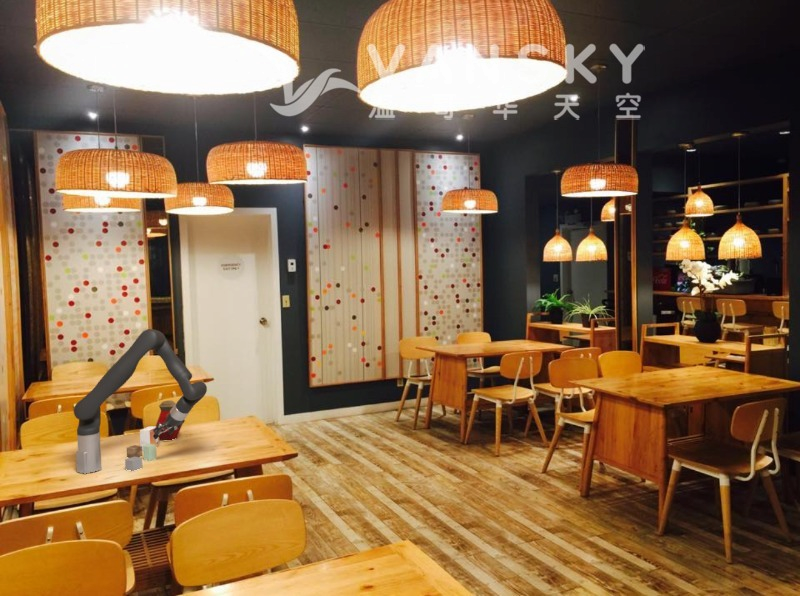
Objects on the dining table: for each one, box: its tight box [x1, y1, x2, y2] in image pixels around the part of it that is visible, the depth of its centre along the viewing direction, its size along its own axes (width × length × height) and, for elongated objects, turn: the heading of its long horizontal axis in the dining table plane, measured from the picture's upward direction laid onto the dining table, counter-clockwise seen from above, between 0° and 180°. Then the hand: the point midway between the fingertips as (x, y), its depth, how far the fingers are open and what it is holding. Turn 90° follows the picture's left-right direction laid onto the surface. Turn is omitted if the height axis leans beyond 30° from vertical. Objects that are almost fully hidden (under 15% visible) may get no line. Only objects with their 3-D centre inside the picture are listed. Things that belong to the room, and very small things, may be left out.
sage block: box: [142, 444, 157, 462], centre depth 303 cm, size 4×4×7 cm
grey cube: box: [124, 457, 143, 472], centre depth 289 cm, size 5×5×5 cm
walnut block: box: [126, 444, 144, 459], centre depth 308 cm, size 5×5×5 cm
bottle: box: [155, 400, 182, 441], centre depth 339 cm, size 16×14×20 cm
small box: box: [139, 425, 160, 451], centre depth 322 cm, size 8×6×10 cm
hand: (162, 435), depth 298 cm, fingers open, 8 cm apart
